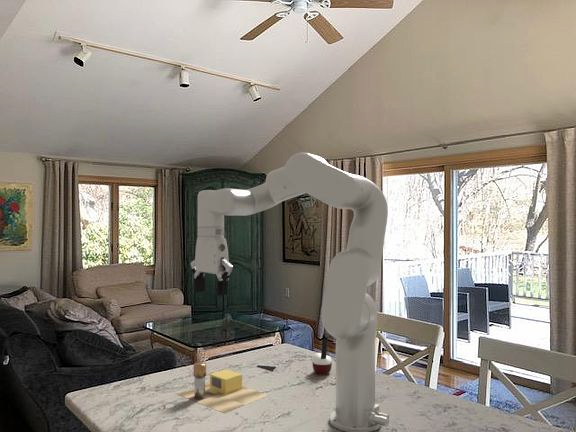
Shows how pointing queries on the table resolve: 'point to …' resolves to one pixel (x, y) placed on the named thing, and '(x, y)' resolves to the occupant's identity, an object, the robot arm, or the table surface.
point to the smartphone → (268, 367)
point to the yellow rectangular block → (225, 381)
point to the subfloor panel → (224, 398)
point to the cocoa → (322, 360)
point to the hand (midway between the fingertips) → (210, 293)
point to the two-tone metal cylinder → (199, 380)
